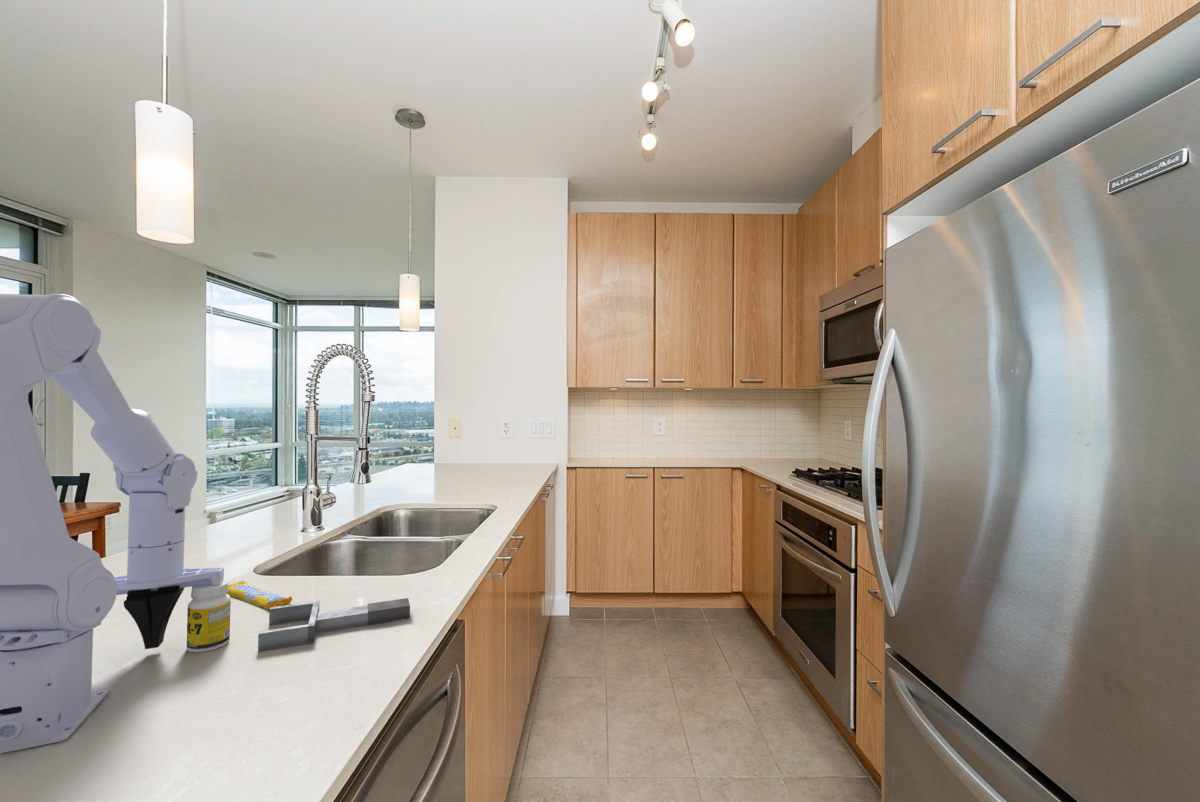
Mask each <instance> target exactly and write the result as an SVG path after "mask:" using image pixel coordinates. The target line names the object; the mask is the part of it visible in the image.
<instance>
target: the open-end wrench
mask: <svg viewBox="0 0 1200 802" xmlns="http://www.w3.org/2000/svg"><path fill="white" fill-rule="evenodd" d="M268 611H269V616H268V619H269V620H268V621H269V623H268V626H274V625H278V624H279V625H281V624H286V623H295V622H301V621H307V620H308V624H302V625H301V624H300V625H295V626H287V627H281V628H274V629H269V630H267V629H266V630H263V631H262V630H261V631H259V632H258V634H257V635H258V637H257V638H258V639H257V640H258V641H257V652H258V653H259V652H266V651H272V650H278V649H284V648H290V647H296V646H302V645H307V644H308V645H309V644H315V639H316V635H317V633H325V632H329V631H337V630H344V629H348V628H350V629H351V628H354V627H356V628H357V627H361V626H370V625H371V626H372V625H377V624H382V623H383V624H385V623H390V622H395V621H396V622H397V621H401V620H402V619H404V620H409V619H408V618H410V619H411V604H410V601H409V598H408V597H407V598H406V597H405V598H399V599H393V600H385V601H377V602H370V603H367V605H360V606H355V607H349V608H340V609H333V610H328V611H326V610H325V611H321V612H320V600H317V601H316V600H315V601H308V602H302V603H294V604H293V603H292V604H287V605H284V606H277V607H270V609H269V610H268Z"/></svg>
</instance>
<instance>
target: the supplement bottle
mask: <svg viewBox="0 0 1200 802" xmlns="http://www.w3.org/2000/svg"><path fill="white" fill-rule="evenodd" d="M228 584H229V583H228V581H227V580H223V582H222V583H221V584H220V585H213V586H212V585H211V584H210V585H201V586H192V587H191V593H190V596H191V600H189V602H188V603H187V614H186V615H187V619H186V620H187V621H186V622H187V623H186V624H187V625H186V650H187V651H188V652H190V653H198V654H199V653H206V652H207V653H208V652H211V651H214V650H216V649H219V648H222V647H223V646H226V645H228V643H229V641H230V640H231V639H230V637H231V603H232V602H231V596H230V595H228V594H226V593H227V592H228Z"/></svg>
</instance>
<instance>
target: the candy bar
mask: <svg viewBox="0 0 1200 802" xmlns="http://www.w3.org/2000/svg"><path fill="white" fill-rule="evenodd" d="M226 594H228V595H229V596H230V597H232V596H233V597H232V598H235V597H236V598H235V599H237V598H238V600H240V599H241V600H240V601H243V600H244V602H246V603H248V602H249V604H252V605H253V604H254V605H253V606H256V607H259V608H261V607H262V609H263V610H267V611H269V609H270V607H277V606H285V605H286V604H287V605H290V604H291V602H292V601H293V598H292V596H288V597H285V596H281V595H278V594H275V593H272V592H270V591H266V590H264V589H261V588H259V587H256V586H253V585H251V584H249V583H248V582H247V581H245V580H243V581H242V580H241V581H238V582H235V583H231V584H229V585H228V592H227V593H226Z"/></svg>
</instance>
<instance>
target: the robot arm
mask: <svg viewBox="0 0 1200 802" xmlns="http://www.w3.org/2000/svg"><path fill="white" fill-rule="evenodd" d="M101 337H102V330H101V329H100V327H99V326H98V325H97V324H96V322H95V321H94V318H93V317H92V314H91V311H90V310H89V309H88V307H87V306H86V305H85V304H84V303H83V302H82V301H81V300H80V299H78V298H76V297H74V296H72V295H69V294H64V293H49V294H29V293H28V294H24V293H23V294H20V293H0V754H3V753H4V752H5V753H8V752H9V753H10V752H13V751H19V750H24V749H29V748H34V747H39V746H44V745H48V744H54V743H59V742H63V741H65V740H67V739H69V738H70V737H71V735H72V734H73V733H74V732H75V731H76V730H77V729H78V728H79V727H80V726H81V724H82V723H83V722H84V721H85V720H86V719H87V718H88V716H89V715H90V714H91V713H92V712H93V711H94V710H95V708H97V706H98V705H99V704H100V703H101V702H102V701H103V699H104V698H106V696H107V695H108V694H109V689H108V688H106V689H105V688H103V689H98V690H93V691H92V686H93V685H92V679H93V678H92V677H93V649H94V648H93V647H94V645H93V643H94V629H95V628H97V627H99V626H101V625H102V621H103V620H104V619H105V618H106V617H107V615H109V613H110V611H111V610H112V608H113V607H114V605H115V602H116V598H117V596H121V595H126V599H125V600H124V601H123V607H124V609H125V610H126V611H127V612H128V613H129V615H130V616H131V618H132V619H133V620H134V623H135V624H136V625H137V628H138V630H139V633H140V635H141V638H142V641H143V645H144V650H149V649H156V648H159V647H160V646H161V644H163V642H164V638H165V633H166V630H167V628H168V627H167V626H168V624H169V621H170V618H171V617H172V614H173V611H174V609H175V606H176V604H177V603H178V601H179V600H180V597H181V595H182V594H183V592H184V590H185V588H192V587H193V586H201V585H210V584H211V585H212V586H213V585H220V584H221V583H222V582H223V580H224V578H225V577H224V576H225V567H224V566H222V567H219V566H218V567H207V568H206V567H199V568H195V567H194V568H184V564H185V534H186V531H185V530H186V529H185V528H186V525H185V524H186V507H187V506H189V505H190V502H191V499H192V498H191V497H192V496H191V495H192V491H193V488H194V486H195V484H196V482H197V478H198V473H199V472H198V470H196V465H195V462H194V461H193V460H192V459H191V458H190V457H188V456H187V455H185V454H183V453H179V452H178V453H176V451H175V449H174V448H173V446H171V444H170V442H169V441H168V439H167V438H166V436H165V435H164V434H163V433H162V431H161V430H160V428H159V427H158V425H157V424H156V423H155V421H154V418H152V416H151V415H150V413H148V412H147V411H145V410H142V409H139V408H131V407H130V405H129V404H128V402H127V400H126V398H125V396H124V395H123V392H122V391H121V390H120V388H119V386H118V385H117V382H116V381H115V379H114V378H113V376H112V373H111V372H110V370H109V369H108V367H107V365H106V364H105V362H104V360H103V359H102V357H101V355H100V353H99V352H98V349H99V346H100V342H101ZM51 378H52V379H53V381H55V382H56V383H57V385H58V386H59V387H60V388H61V389H63V391H64V392H65V393H66V394H67V395H68V396H69V397H70V398H71V399H72V400H73V401H74V402H75V403H76V404H77V405H78V406H79V407H80V408H81V409H82V410H83V411H84V412H85V413H86V414H87V415H88V417H90V418H91V419H92V420H93V421H94V423H93V426H92V427H91V430H90V436H91V438H92V439H93V441H94V442H95V443H96V444H97V445H98V447H99V448H100V449H101V450H102V451H103V452H104V454H105V455H106V456H107V457H108V459H110V461H111V462H112V463H113V464H112V467H113V468H112V470H113V471H114V473H115V485H116V488H117V490H118V491H120V492H122V494H124V495H126V496H129V497H128V498H129V499H128V500H129V502H128V527H127V528H128V535H127V536H128V537H127V538H128V539H127V564H126V566H127V567H126V569H127V570H126V575H121V576H114V574H113V573H112V572H111V571H110V570H108V569H107V568H106V567H105V566H104V563H103V561H102V559H101V556H100V555H101V554H100V553H99V552H97V551H96V550H94V549H92V548H90V547H88V546H87V545H84V544H82V543H80V542H79V541H77V540H75V539H74V538H72V537H70V534H69V531H68V529H67V525H66V521H65V518H64V515H63V512H62V509H61V505H60V500H59V498H58V494H57V492H56V488H55V485H54V482H53V478H52V476H51V475H52V474H51V471H50V468H49V466H48V462H47V458H46V455H45V453H44V448H43V445H42V441H41V439H40V435H39V432H38V429H37V426H36V421H35V419H34V416H33V412H32V409H31V406H30V402H29V399H28V395H29V394H30V393H31V392H32V390H33V389H34V388H35V387H36V386H37V385H38V384H40V383H43V382H46V381H48V380H49V379H51Z"/></svg>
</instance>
